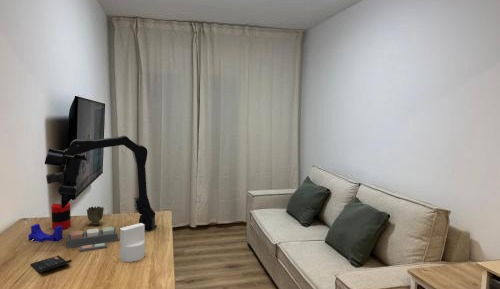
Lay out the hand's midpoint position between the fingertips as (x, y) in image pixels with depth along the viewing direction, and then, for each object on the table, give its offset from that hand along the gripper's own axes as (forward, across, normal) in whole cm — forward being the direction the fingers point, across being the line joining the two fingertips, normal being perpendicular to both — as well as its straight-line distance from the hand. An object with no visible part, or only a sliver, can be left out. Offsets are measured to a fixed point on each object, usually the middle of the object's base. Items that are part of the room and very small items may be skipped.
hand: (63, 204), depth 139 cm
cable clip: (+17, -3, -3) cm, 17 cm away
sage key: (+9, +6, +20) cm, 22 cm away
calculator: (+16, +24, +1) cm, 29 cm away
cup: (+12, -15, +16) cm, 25 cm away
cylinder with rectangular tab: (+10, +27, +27) cm, 40 cm away
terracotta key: (+12, +6, +8) cm, 15 cm away
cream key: (+10, +6, +14) cm, 18 cm away
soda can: (+16, -16, +2) cm, 23 cm away
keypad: (+12, +6, +14) cm, 20 cm away
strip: (+12, +14, +14) cm, 23 cm away
